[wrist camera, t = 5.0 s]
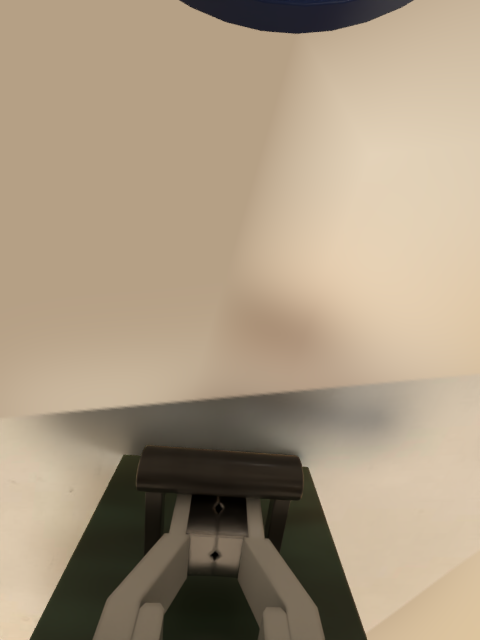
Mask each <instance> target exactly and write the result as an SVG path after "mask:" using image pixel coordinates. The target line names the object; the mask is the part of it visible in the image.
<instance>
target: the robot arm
mask: <svg viewBox="0 0 480 640" xmlns="http://www.w3.org/2000/svg"><path fill="white" fill-rule="evenodd" d="M212 575H213V576H219V577H232V578H238V579H237V580H238V582H239V584H240V586H241V588H242V591H243V593H244V595H245V597H246V599H247V601H248V604H249V606H250V608H251V610H252V612H253V614H254V617H255V619H256V621H257V623H258V625H259V628H260V630H259V635H258V640H325V637H324V633H323V629H322V624H321V620H320V616H319V612H318V608H317V606H316V605H315V603H314V602H313V601H312V599H311V598H310V596H309V595H308V593H307V592H306V591H305V589H304V588H303V586H302V585H301V584H300V582H299V581H298V579H297V578H296V576H295V575H294V574H293V572H292V571H291V569H290V568H289V567H288V565H287V564H286V562H285V561H284V559H283V558H282V557H281V555H280V554H279V552H278V551H277V550H276V548H275V547H274V545H273V544H272V542H271V541H270V540H269V539H267V538H265V537H264V528H263V519H262V511H261V502H260V499H259V498H243V497H226V496H209V495H193V494H177V498H176V503H175V507H174V512H173V517H172V521H171V526H170V531H169V533H164V535H163V536H162V537H161V538H160V539H159V540H158V541H157V543H156V544H155V545H154V546H153V547H152V548H151V549H150V550H149V552H148V553H147V554H146V555H145V556H144V557H143V558H142V560H141V561H140V562H139V563H138V564H137V565H136V566H135V568H134V569H133V570H132V571H131V572H130V573H129V574H128V576H127V577H126V578H125V579H124V580H123V581H122V582H121V584H120V585H119V586H118V587H117V588H116V589H115V590H114V592H113V593H112V594H111V595H110V596H109V597H108V598H107V600H106V603H105V606H104V609H103V612H102V614H101V617H100V620H99V623H98V626H97V628H96V631H95V634H94V637H93V640H163V623H164V614H165V613H166V611H167V609H168V608H169V606H170V604H171V603H172V601H173V600H174V598H175V596H176V595H177V593H178V591H179V590H180V588H181V586H182V585H183V583H184V582H185V580H186V578H187V576H212Z"/></svg>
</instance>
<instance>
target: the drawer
mask: <svg viewBox="0 0 480 640" xmlns="http://www.w3.org/2000/svg"><path fill="white" fill-rule="evenodd" d="M177 494H193V495H209V496H226V497H243V498H259V499H260V502H261V511H262V519H263V528H264V537H265V538H267V539H269V540H270V541H271V542H272V544H273V545H274V547H275V548H276V550H277V551H278V552H279V554H280V555H281V557H282V558H283V559H284V561H285V562H286V564H287V565H288V567H289V568H290V569H291V571H292V572H293V574H294V575H295V576H296V578H297V579H298V581H299V582H300V584H301V585H302V586H303V588H304V589H305V591H306V592H307V593H308V595H309V596H310V598H311V599H312V601H313V602H314V603H315V605H316V606H317V608H318V612H319V616H320V620H321V624H322V629H323V633H324V637H325V640H367V637H366V634H365V631H364V628H363V626H362V623H361V620H360V617H359V614H358V611H357V608H356V605H355V602H354V599H353V596H352V594H351V591H350V588H349V585H348V582H347V579H346V576H345V573H344V570H343V567H342V564H341V561H340V559H339V556H338V553H337V550H336V547H335V544H334V541H333V538H332V535H331V532H330V529H329V527H328V524H327V521H326V518H325V515H324V512H323V509H322V506H321V503H320V500H319V497H318V494H317V492H316V489H315V486H314V483H313V480H312V477H311V474H310V471H309V468H308V467H302V464H301V461H300V458H299V457H298V456H295V455H281V454H267V453H253V452H238V451H224V450H210V449H196V448H182V447H167V446H153V445H147V446H145V448H144V450H143V452H142V454H141V456H138V455H123V457H122V459H121V461H120V463H119V465H118V467H117V469H116V471H115V473H114V474H113V476H112V478H111V480H110V482H109V484H108V486H107V488H106V490H105V492H104V494H103V496H102V498H101V500H100V502H99V504H98V506H97V508H96V510H95V512H94V514H93V516H92V518H91V520H90V522H89V524H88V526H87V528H86V530H85V531H84V533H83V535H82V537H81V539H80V541H79V543H78V545H77V547H76V549H75V551H74V553H73V555H72V557H71V559H70V561H69V563H68V565H67V567H66V569H65V571H64V573H63V575H62V577H61V579H60V581H59V583H58V585H57V587H56V588H55V590H54V592H53V594H52V596H51V598H50V600H49V602H48V604H47V606H46V608H45V610H44V612H43V614H42V616H41V618H40V620H39V622H38V624H37V626H36V628H35V630H34V632H33V634H32V636H31V638H30V640H93V637H94V634H95V631H96V628H97V626H98V623H99V620H100V617H101V614H102V612H103V609H104V606H105V603H106V600H107V598H108V597H109V596H110V595H111V594H112V593H113V592H114V590H115V589H116V588H117V587H118V586H119V585H120V584H121V582H122V581H123V580H124V579H125V578H126V577H127V576H128V574H129V573H130V572H131V571H132V570H133V569H134V568H135V566H136V565H137V564H138V563H139V562H140V561H141V560H142V558H143V557H144V556H145V555H146V554H147V553H148V552H149V550H150V549H151V548H152V547H153V546H154V545H155V544H156V543H157V541H158V540H159V539H160V538H161V537H162V536H163V535H164V533H169V531H170V526H171V521H172V517H173V512H174V507H175V503H176V498H177ZM237 579H238V578H232V577H219V576H213V575H212V576H187V578H186V580H185V582H184V583H183V585H182V586H181V588H180V590H179V591H178V593H177V595H176V596H175V598H174V600H173V601H172V603H171V604H170V606H169V608H168V609H167V611H166V613H165V614H164V623H163V640H258V635H259V630H260V628H259V625H258V623H257V621H256V619H255V617H254V614H253V612H252V610H251V608H250V606H249V604H248V601H247V599H246V597H245V595H244V593H243V591H242V588H241V586H240V584H239V582H238V580H237Z"/></svg>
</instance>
